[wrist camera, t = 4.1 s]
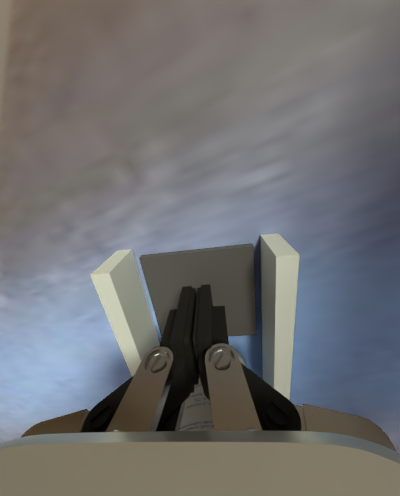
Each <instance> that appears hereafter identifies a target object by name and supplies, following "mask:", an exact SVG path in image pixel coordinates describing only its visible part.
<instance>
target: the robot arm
mask: <svg viewBox="0 0 400 496" xmlns="http://www.w3.org/2000/svg"><path fill="white" fill-rule="evenodd" d="M199 376H200V381H201V385H202V387H203V392H204V395H205V396H206V397H207V398H208V399H209V401H210V403H211V410H212V418H213V425H214V431H179V429H180V425H181V421H182V416H183V412H184V408H185V400H186V399H187V398H188V397H189V396H190V393H194V388H195V385H198V383H199ZM0 496H400V453H398V452H396V450H395V448H394V446H393V444H392V442H391V441H390V439H389V437H388V436H387V435H386V434H385V432H384V431H383V430H382V429H381V428H380V427H379V426H377V425H376V424H374V423H373V422H372V421H370V420H368V419H365V418H363V417H360V416H356V415H351V414H347V413H342V412H338V411H333V410H329V409H324V408H320V407H315V406H311V405H306V404H303V406H298V405H294V404H292V403H291V402H290V401H289V400H288V399H287V398H286V397H284V396H283V395H282V394H281V393H279V392H278V391H277V390H275V389H274V388H273V387H272V386H270V385H269V384H268V383H266V382H265V381H264V380H262V379H261V378H260V377H259V376H257V375H256V374H255V373H253V372H252V371H251V370H249V369H248V368H247V367H246V366H244V365H243V364H242V363H241V362H240V359H239V356H238V354H237V352H236V350H235V349H234V348H233V347H232V346H230V345H229V343H228V333H227V323H226V314H225V306H213V302H212V294H211V287H210V284H208V285H201V288H198V290H197V294H196V289H195V288H192V286H184V287H182V290H181V295H180V299H179V303H178V308H177V309H172V310H170V312H169V315H168V318H167V322H166V326H165V329H164V333H163V336H162V340H161V343H160V347H157V348H154V349H152V350H150V351H149V352H148V353H147V354H146V355H145V356H144V358H143V359H142V361H141V363H140V365H139V367H138V369H137V371H136V373H135V375H134V376H133V377H131V378H130V379H129V380H127V381H126V382H125V383H124V384H122V385H121V386H120V387H119V388H117V389H116V390H115V391H113V392H112V393H111V394H110V395H108V396H107V397H106V398H105V399H103V400H102V401H101V402H99V403H98V404H97V405H96V406H95V407H94V408H93V409H92V410H91V411H88V410H87V409H85V410H81V411H78V412H74V413H71V414H67V415H64V416H60V417H57V418H53V419H50V420H47V421H43V422H40V423H38V424H36V425H34V426H32V427H31V428H30V429H28V430H27V431H26V432H25V433H24V434H23V435H22V436H21V437H20V438H16V439H13V440H9V441H6V442H3V443H0Z"/></svg>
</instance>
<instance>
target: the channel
mask: <svg viewBox="0 0 400 496" xmlns="http://www.w3.org/2000/svg"><path fill="white" fill-rule="evenodd" d="M260 238H261V298H262V358H263V380H264V381H265V382H266V383H268V384H269V385H270V386H272V387H273V388H274V389H275V390H277V391H278V392H279V393H281V394H282V395H283V396H284V397H286V398H287V399H288V400H290V385H291V370H292V356H293V341H294V326H295V311H296V297H297V282H298V267H299V254H298V253H297V252H296V251H295V250H294V249H293V248H292V247H291V246H290V245H289V244H288V243H287V242H286V241H285V240H284V239H283V238H282V237H281V236H280V235H279V234H278V233H274V234H264V235H260ZM140 262H141V265H142V269H143V272H144V276H145V279H146V283H147V287H148V290H149V294H150V297H151V301H152V304H153V308H154V311H155V315H156V318H157V322H158V325H159V329H160V332H161V336H163V333H164V329H165V326H166V322H167V318H168V315H169V312H170V310H172V309H177V308H178V303H179V299H180V295H181V290H182V287H184V286H192V288H195V289H196V294H197V290H198V288H201V285H208V284H210V287H211V294H212V302H213V306H225V314H226V323H227V333H228V336H242V335H256V308H255V277H254V246H253V244H244V245H234V246H225V247H215V248H206V249H197V250H187V251H178V252H168V253H159V254H149V255H141V257H140ZM90 276H91V278H92V281H93V283H94V286H95V288H96V290H97V293H98V295H99V298H100V300H101V303H102V305H103V308H104V310H105V312H106V315H107V317H108V320H109V322H110V325H111V327H112V330H113V332H114V334H115V337H116V339H117V342H118V344H119V347H120V349H121V352H122V354H123V356H124V359H125V361H126V364H127V366H128V369H129V371H130V374H131V376H132V377H133V376H134V375H135V373H136V371H137V369H138V367H139V365H140V363H141V361H142V359H143V358H144V356H145V355H146V354H147V353H148V352H149V351H150V350H152V349H154V348H157V347H160V342H159V339H158V335H157V332H156V329H155V325H154V322H153V318H152V315H151V312H150V308H149V305H148V302H147V298H146V295H145V291H144V288H143V285H142V281H141V278H140V275H139V271H138V268H137V264H136V261H135V258H134V254H133V251H132V249H128V250H119V251H116V252H115V253H114V254H113V255H112V256H111V257H110V258H108V259H107V260H106V261H105V262H104V263H103V264H102V265H101V266H100V267H98V268H97V269H96V270H95V271H94V272H93V273H92V274H91V275H90Z"/></svg>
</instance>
